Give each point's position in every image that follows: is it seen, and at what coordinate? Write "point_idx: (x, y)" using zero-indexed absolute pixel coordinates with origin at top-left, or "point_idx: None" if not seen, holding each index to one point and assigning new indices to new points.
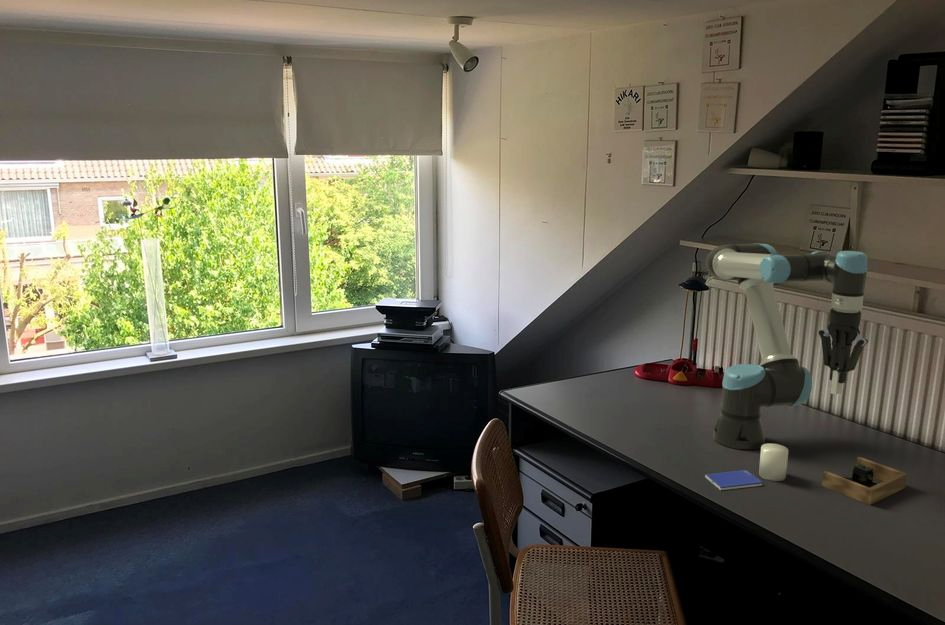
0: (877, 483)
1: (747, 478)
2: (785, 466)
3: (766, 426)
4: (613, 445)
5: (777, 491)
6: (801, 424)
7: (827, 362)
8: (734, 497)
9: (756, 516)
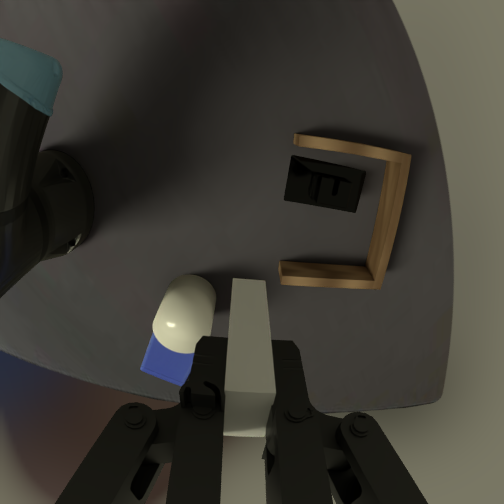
0: (354, 176)
1: None
2: (213, 312)
3: None
4: (26, 356)
5: None
6: (79, 10)
7: (159, 469)
8: None
9: None
